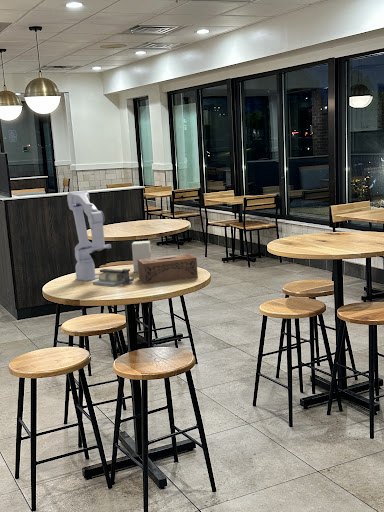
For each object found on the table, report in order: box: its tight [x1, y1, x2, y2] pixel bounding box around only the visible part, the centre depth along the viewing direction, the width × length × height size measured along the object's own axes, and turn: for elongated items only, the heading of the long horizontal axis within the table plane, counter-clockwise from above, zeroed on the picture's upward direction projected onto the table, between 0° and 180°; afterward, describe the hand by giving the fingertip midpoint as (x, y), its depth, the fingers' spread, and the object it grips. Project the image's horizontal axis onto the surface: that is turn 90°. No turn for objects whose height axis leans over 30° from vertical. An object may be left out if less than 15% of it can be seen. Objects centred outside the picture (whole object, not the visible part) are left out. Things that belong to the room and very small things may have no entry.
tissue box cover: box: [137, 252, 199, 285], centre depth 307 cm, size 26×14×10 cm, turn 105°
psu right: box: [109, 273, 124, 282], centre depth 305 cm, size 5×6×3 cm
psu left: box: [98, 272, 114, 281], centre depth 309 cm, size 5×6×3 cm
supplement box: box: [131, 240, 152, 273], centre depth 331 cm, size 9×9×15 cm
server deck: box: [92, 271, 135, 287], centre depth 306 cm, size 18×14×6 cm
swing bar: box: [99, 268, 131, 274], centre depth 305 cm, size 18×4×2 cm, turn 54°
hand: (100, 265), depth 301 cm, fingers open, 4 cm apart
